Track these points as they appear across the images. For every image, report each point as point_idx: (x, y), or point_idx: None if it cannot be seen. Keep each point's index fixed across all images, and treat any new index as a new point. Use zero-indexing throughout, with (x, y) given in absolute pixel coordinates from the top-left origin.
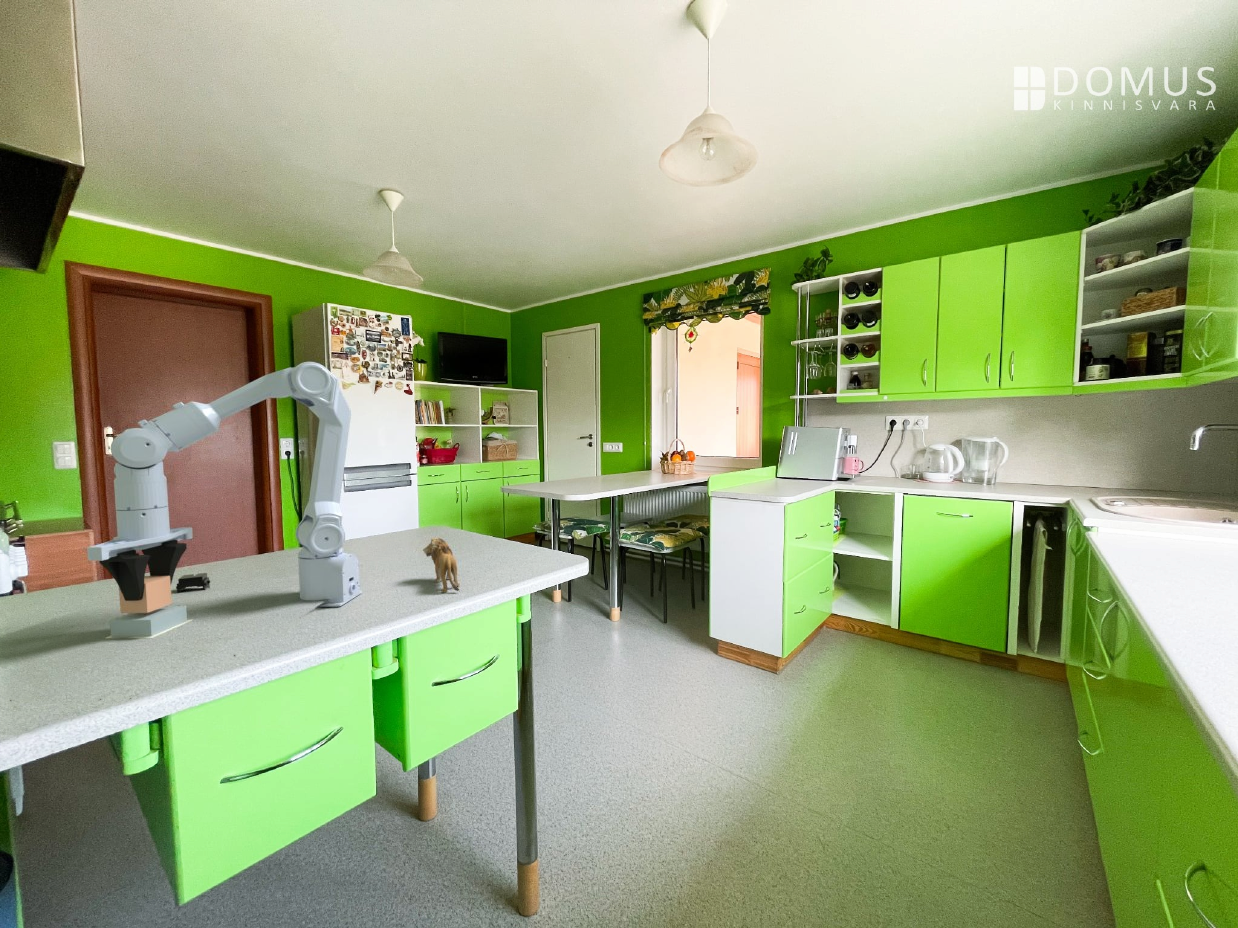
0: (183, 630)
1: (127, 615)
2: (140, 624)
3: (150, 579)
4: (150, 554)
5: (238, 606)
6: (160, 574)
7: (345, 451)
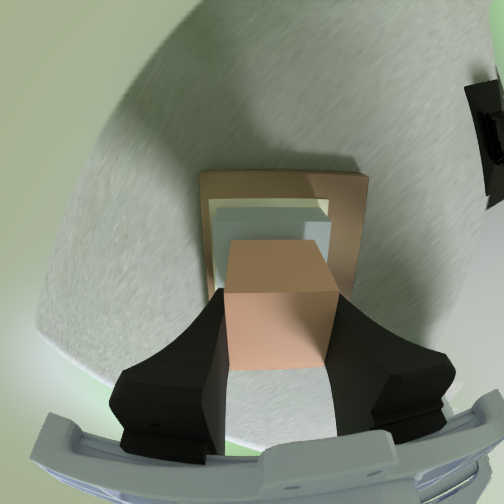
0: None
1: (251, 233)
2: None
3: (280, 349)
4: (365, 386)
5: (421, 280)
6: (332, 344)
7: None
